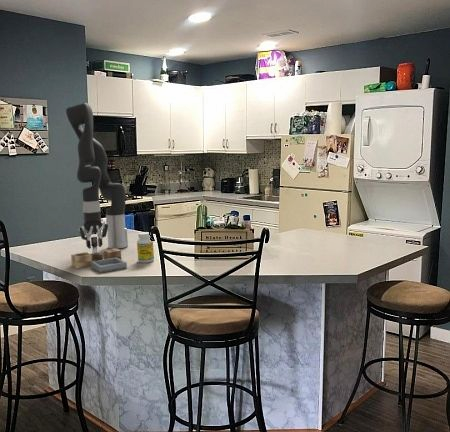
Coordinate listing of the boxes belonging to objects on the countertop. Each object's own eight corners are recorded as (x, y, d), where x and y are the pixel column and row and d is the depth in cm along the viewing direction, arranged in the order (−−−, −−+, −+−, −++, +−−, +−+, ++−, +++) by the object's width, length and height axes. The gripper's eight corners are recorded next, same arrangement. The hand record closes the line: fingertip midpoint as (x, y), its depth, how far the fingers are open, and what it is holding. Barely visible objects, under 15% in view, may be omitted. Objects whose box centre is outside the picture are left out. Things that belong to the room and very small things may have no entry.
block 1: (87, 262, 228) (86, 252, 227) (92, 265, 222) (91, 254, 221) (71, 265, 224) (70, 254, 223) (76, 268, 218) (75, 257, 217)
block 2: (116, 258, 234) (115, 248, 233) (121, 261, 229) (120, 250, 228) (104, 260, 231) (103, 250, 230) (109, 263, 226) (108, 252, 225)
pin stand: (99, 258, 235) (98, 252, 234) (102, 260, 231) (102, 254, 230) (88, 260, 232) (88, 254, 232) (92, 262, 228) (91, 256, 228)
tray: (116, 263, 225) (116, 257, 225) (126, 268, 216) (126, 262, 215) (91, 267, 219) (91, 261, 219) (100, 272, 210) (100, 266, 209)
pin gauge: (97, 259, 233) (95, 236, 232) (99, 260, 231) (97, 237, 229) (91, 260, 232) (89, 237, 230) (93, 261, 230) (92, 238, 228)
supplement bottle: (153, 258, 232) (151, 231, 230) (154, 261, 225) (153, 233, 223) (137, 259, 231) (136, 232, 229) (138, 263, 224) (136, 235, 222)
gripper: (104, 208, 235) (106, 243, 238) (73, 211, 227) (76, 248, 230) (110, 209, 229) (112, 246, 231) (79, 213, 221) (81, 251, 224)
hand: (94, 247), depth 231 cm, fingers open, 4 cm apart
